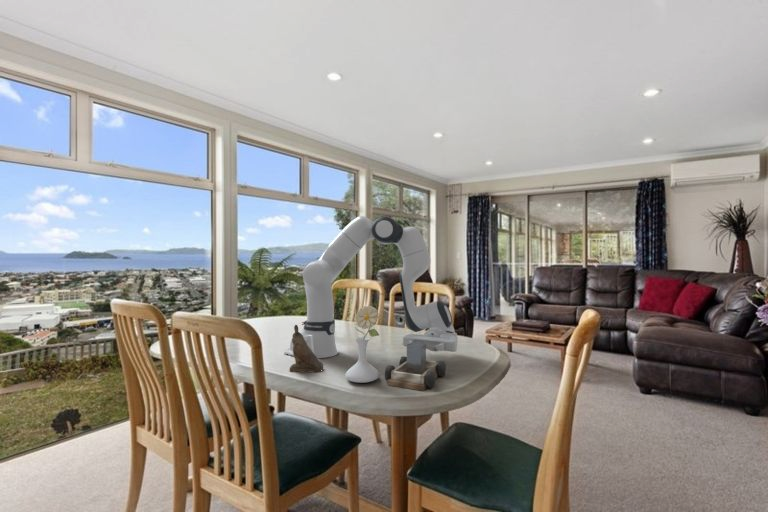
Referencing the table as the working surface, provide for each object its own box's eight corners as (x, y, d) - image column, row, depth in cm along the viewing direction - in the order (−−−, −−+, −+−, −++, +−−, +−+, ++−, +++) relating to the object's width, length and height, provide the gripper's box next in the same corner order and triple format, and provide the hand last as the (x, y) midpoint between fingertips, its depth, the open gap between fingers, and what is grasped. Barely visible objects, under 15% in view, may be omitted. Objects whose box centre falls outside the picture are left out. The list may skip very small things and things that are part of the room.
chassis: (382, 384, 120) (382, 368, 120) (406, 367, 138) (406, 353, 138) (428, 391, 114) (428, 375, 114) (446, 373, 132) (446, 358, 132)
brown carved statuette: (289, 378, 133) (279, 329, 133) (294, 373, 139) (284, 326, 139) (321, 372, 132) (311, 322, 132) (325, 367, 138) (315, 319, 138)
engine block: (406, 375, 125) (406, 345, 125) (412, 370, 129) (412, 341, 129) (420, 377, 123) (420, 346, 123) (425, 372, 127) (425, 343, 127)
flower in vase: (337, 380, 124) (338, 304, 124) (362, 372, 132) (362, 301, 132) (366, 390, 115) (366, 308, 115) (390, 380, 124) (390, 304, 124)
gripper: (409, 328, 149) (395, 335, 136) (461, 333, 140) (451, 340, 127) (409, 344, 149) (395, 352, 136) (461, 350, 140) (451, 359, 127)
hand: (423, 347), depth 132 cm, fingers open, 8 cm apart
